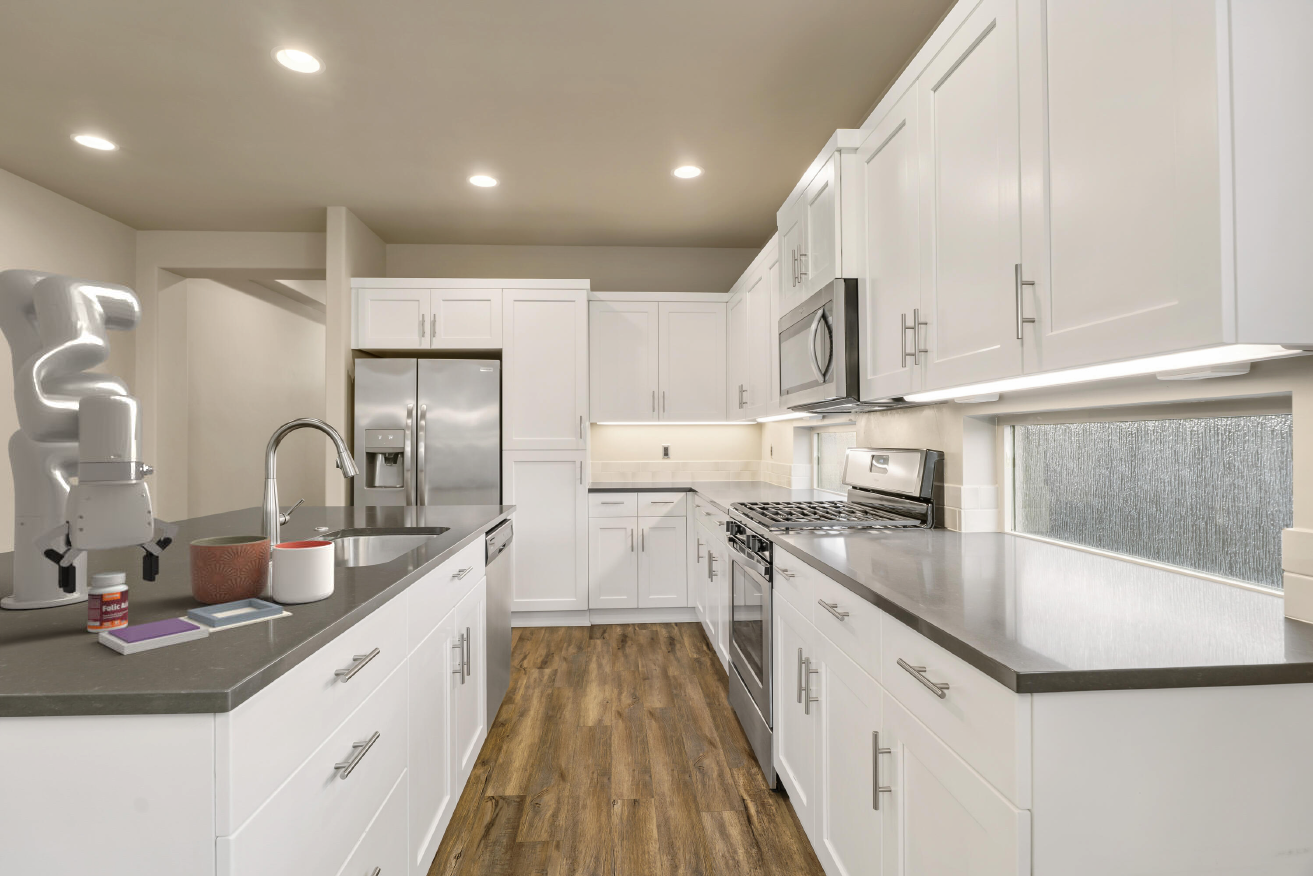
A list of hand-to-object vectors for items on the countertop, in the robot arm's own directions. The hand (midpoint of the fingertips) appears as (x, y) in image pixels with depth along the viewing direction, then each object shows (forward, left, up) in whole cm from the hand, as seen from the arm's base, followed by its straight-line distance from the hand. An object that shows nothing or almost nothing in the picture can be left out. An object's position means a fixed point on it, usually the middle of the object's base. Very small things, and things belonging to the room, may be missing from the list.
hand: (110, 586), depth 98 cm
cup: (+4, +27, -7) cm, 28 cm away
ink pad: (+11, +2, -7) cm, 13 cm away
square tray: (+8, +14, -7) cm, 17 cm away
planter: (-6, +19, -7) cm, 21 cm away
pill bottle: (-1, 0, -7) cm, 7 cm away
